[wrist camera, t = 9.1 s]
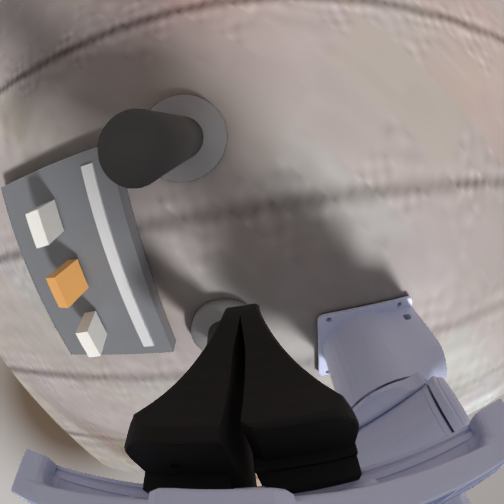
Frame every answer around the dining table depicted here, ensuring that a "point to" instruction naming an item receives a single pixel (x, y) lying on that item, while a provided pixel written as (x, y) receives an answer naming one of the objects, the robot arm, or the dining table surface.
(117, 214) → the breaker panel
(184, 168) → the rubber post
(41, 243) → the block
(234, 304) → the rubber post
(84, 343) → the block
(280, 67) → the dining table surface
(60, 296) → the block
